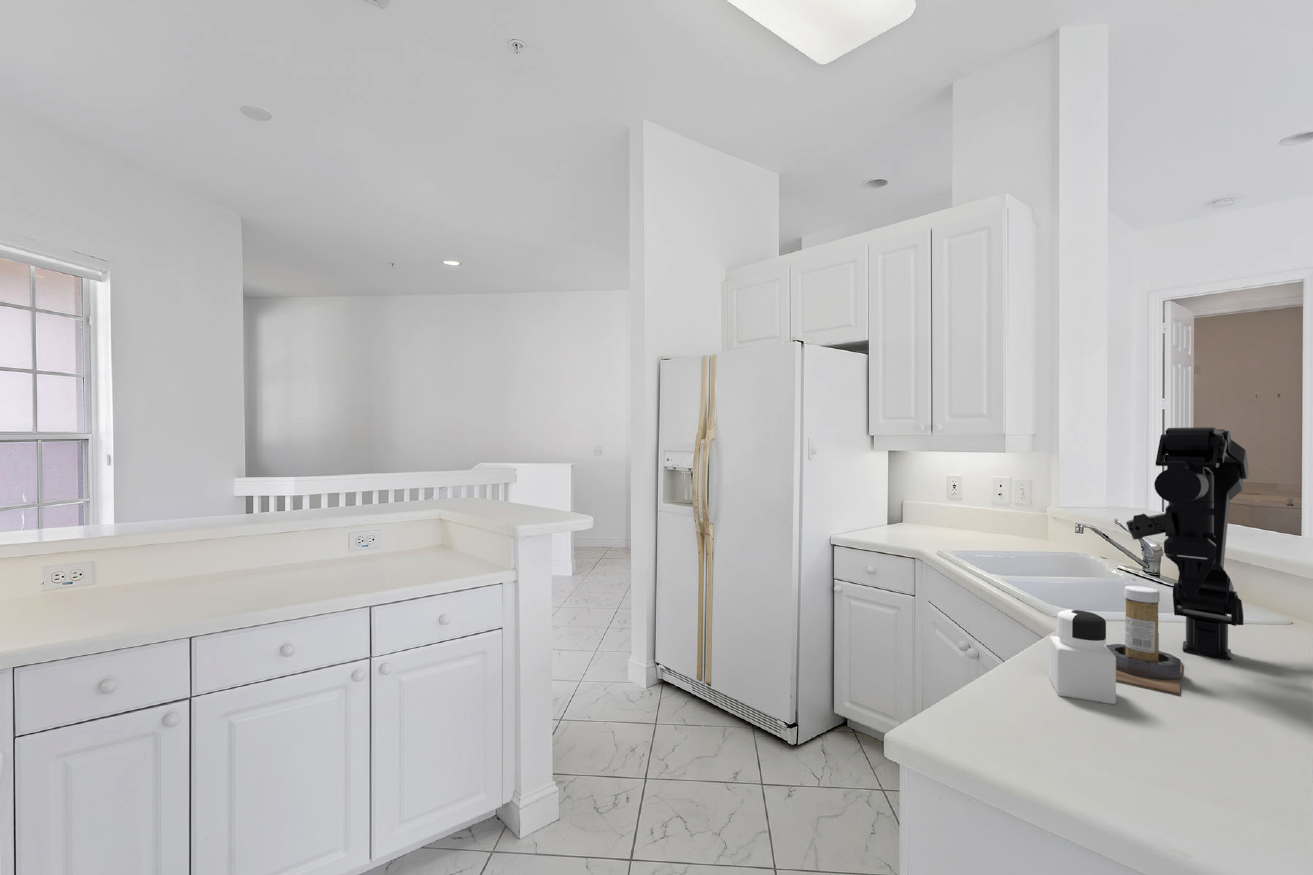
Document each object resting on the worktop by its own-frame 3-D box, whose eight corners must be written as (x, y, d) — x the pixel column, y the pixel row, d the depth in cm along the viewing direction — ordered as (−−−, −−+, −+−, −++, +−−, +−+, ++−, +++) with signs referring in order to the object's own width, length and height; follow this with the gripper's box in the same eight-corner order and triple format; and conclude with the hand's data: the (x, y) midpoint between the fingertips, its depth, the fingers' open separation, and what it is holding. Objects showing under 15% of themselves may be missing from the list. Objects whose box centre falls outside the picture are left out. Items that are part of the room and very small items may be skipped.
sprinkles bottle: (1163, 669, 98) (1164, 589, 98) (1152, 675, 96) (1153, 592, 96) (1130, 661, 102) (1130, 583, 102) (1119, 666, 99) (1119, 586, 100)
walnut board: (1110, 650, 109) (1110, 648, 109) (1182, 664, 102) (1182, 662, 102) (1096, 677, 95) (1097, 674, 95) (1179, 695, 89) (1179, 692, 89)
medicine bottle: (1103, 687, 91) (1103, 610, 91) (1116, 705, 85) (1116, 622, 85) (1048, 679, 94) (1049, 604, 94) (1057, 696, 88) (1058, 615, 88)
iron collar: (1108, 653, 106) (1108, 640, 106) (1181, 668, 99) (1181, 654, 99) (1100, 668, 98) (1100, 653, 98) (1179, 685, 92) (1179, 669, 92)
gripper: (1134, 494, 112) (1134, 576, 112) (1124, 500, 99) (1124, 593, 98) (1215, 499, 105) (1214, 586, 104) (1216, 505, 91) (1216, 606, 91)
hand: (1190, 592), depth 100 cm, fingers open, 9 cm apart
